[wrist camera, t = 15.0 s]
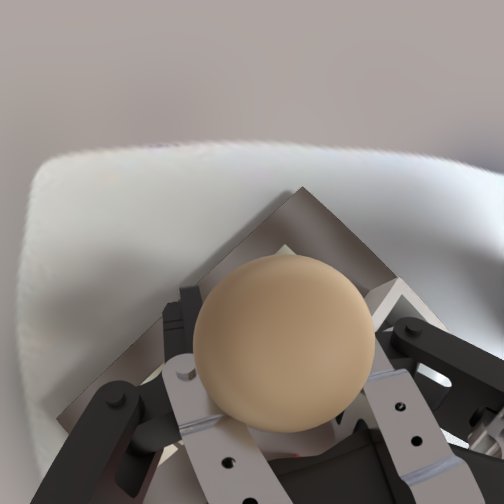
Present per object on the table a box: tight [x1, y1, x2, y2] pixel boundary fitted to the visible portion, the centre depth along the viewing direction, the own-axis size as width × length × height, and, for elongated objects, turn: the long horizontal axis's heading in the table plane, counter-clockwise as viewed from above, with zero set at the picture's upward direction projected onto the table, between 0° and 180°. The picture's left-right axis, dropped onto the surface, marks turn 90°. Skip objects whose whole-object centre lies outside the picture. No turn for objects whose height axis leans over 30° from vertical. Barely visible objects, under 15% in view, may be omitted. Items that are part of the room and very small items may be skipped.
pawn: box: [193, 254, 375, 433], centre depth 10 cm, size 4×4×11 cm
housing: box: [364, 276, 451, 334], centre depth 18 cm, size 9×9×4 cm
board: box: [56, 186, 397, 504], centre depth 19 cm, size 25×22×2 cm
